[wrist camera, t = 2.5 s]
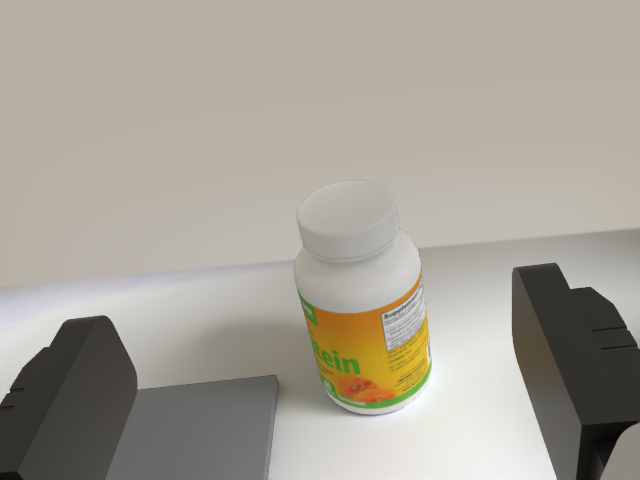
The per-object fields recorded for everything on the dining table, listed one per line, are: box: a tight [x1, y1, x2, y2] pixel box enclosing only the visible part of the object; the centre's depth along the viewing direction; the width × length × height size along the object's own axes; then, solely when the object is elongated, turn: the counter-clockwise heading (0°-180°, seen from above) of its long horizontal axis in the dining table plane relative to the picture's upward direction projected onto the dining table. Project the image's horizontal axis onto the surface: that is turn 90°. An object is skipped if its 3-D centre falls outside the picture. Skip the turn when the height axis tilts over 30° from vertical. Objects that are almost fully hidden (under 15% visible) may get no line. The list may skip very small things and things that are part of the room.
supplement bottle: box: [294, 180, 432, 415], centre depth 26 cm, size 5×5×10 cm
